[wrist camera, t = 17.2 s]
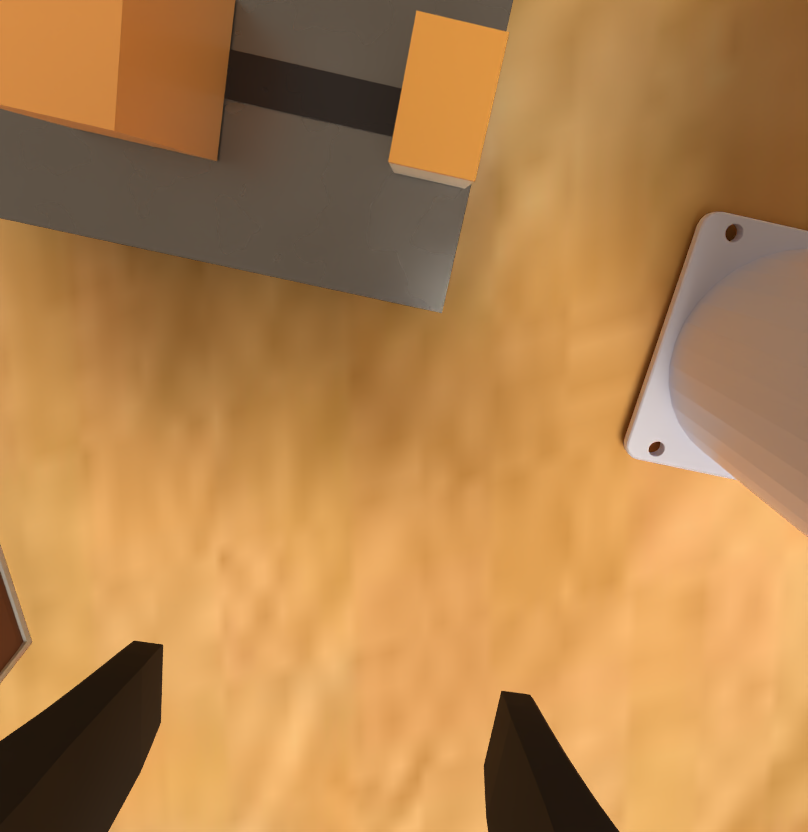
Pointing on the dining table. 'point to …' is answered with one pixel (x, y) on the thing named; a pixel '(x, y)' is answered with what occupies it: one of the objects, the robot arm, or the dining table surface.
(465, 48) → the block
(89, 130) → the block
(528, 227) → the dining table surface
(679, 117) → the dining table surface
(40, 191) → the panel
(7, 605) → the food container
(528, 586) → the dining table surface
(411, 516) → the dining table surface
